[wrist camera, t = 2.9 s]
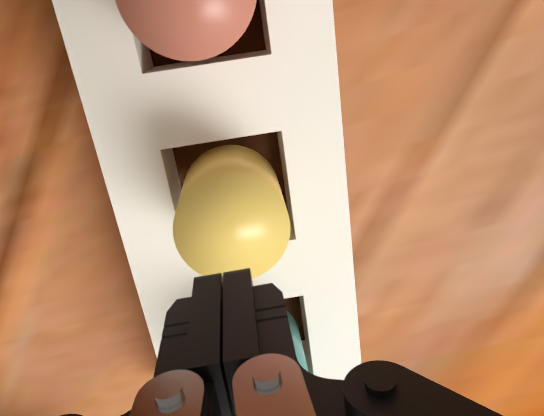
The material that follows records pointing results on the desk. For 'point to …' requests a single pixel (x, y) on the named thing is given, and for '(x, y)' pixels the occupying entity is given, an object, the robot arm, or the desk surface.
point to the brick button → (187, 25)
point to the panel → (220, 126)
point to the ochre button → (231, 213)
